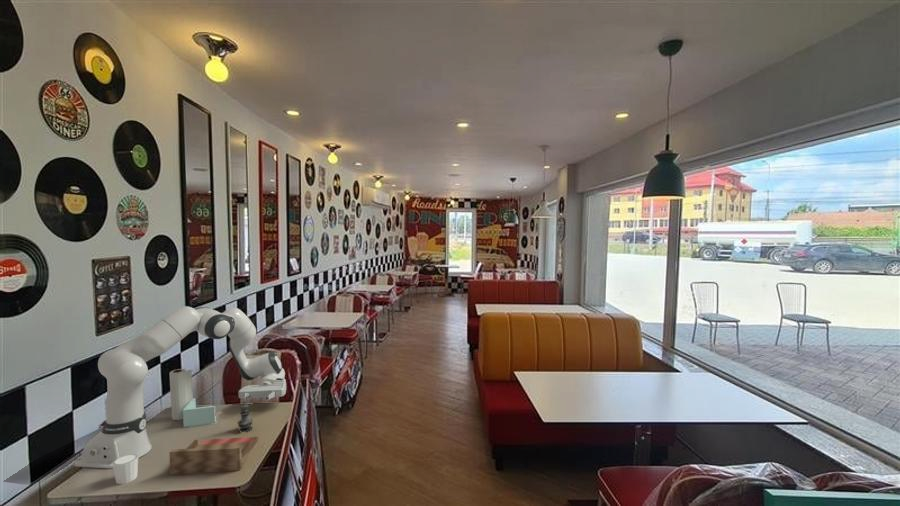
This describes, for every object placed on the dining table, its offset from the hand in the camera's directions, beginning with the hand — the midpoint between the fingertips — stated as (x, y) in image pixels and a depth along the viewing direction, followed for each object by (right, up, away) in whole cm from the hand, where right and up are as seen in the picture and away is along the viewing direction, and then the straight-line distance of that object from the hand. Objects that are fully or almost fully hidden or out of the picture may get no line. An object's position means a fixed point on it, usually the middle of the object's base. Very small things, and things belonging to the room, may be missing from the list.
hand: (256, 398), depth 181 cm
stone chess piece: (+1, -9, -12) cm, 15 cm away
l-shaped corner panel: (-22, -8, -2) cm, 24 cm away
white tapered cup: (-23, -12, -44) cm, 51 cm away
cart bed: (+1, -10, -30) cm, 32 cm away
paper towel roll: (-33, -8, -1) cm, 34 cm away
